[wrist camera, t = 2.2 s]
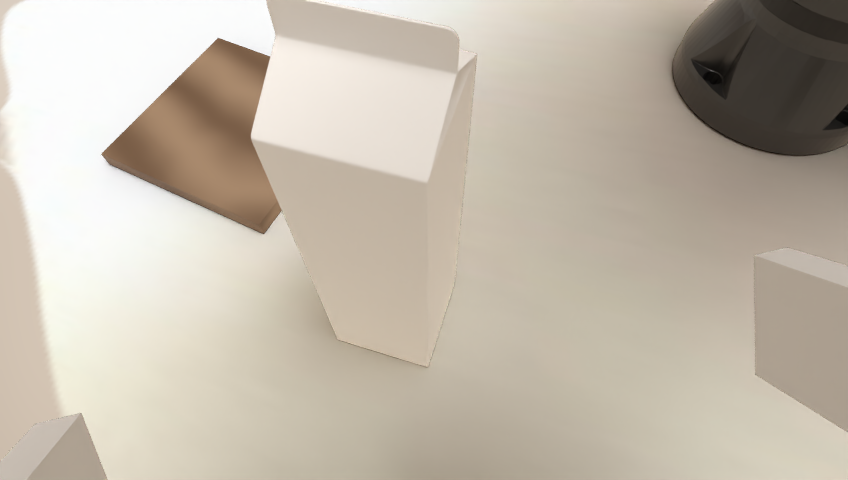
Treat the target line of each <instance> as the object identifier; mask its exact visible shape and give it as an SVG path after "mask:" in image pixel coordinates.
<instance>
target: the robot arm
mask: <svg viewBox="0 0 848 480" xmlns="http://www.w3.org/2000/svg"><path fill="white" fill-rule="evenodd" d="M673 75H674V80H675V83H676V86H677V89H678V91H679V93H680V94H681V96H682V98H683V99H684V101H685V102H686V103H687V105H688V106H689V107H690V108H691V109H692V111H693V112H694V113H695V114H696V115H697V116H699V117H700V118H701V119H702V120H703V121H704V122H706V123H707V124H708V125H710V126H711V127H712V128H714V129H715V130H717V131H719V132H720V133H722V134H724V135H726V136H727V137H729V138H731V139H734V140H736V141H738V142H740V143H743V144H745V145H748V146H751V147H754V148H757V149H761V150H765V151H769V152H774V153H780V154H790V155H810V154H818V153H823V152H828V151H831V150H834V149H837V148H839V147H841V146H843V145H845V144H847V143H848V0H715V1H714V2H713V3H712V4H711V5H710V6H709V7H708V8H707V9H706V10H705V11H704V12H703V13H702V14H701V15H700V16H699V17H698V18H697V19H696V20H695V21H694V22H693V23H692V25H691V26H690V27H689V29H688V30H687V32H686V34H685V36H684V38H683V40H682V42H681V44H680V46H679V48H678V50H677V52H676V54H675V57H674V61H673ZM754 306H755V375H757V376H758V377H760V378H762V379H763V380H765V381H766V382H768V383H770V384H771V385H773V386H774V387H776V388H778V389H779V390H781V391H782V392H784V393H786V394H787V395H789V396H790V397H792V398H794V399H795V400H797V401H798V402H800V403H802V404H803V405H805V406H806V407H808V408H810V409H811V410H813V411H814V412H816V413H818V414H819V415H821V416H822V417H824V418H826V419H827V420H829V421H830V422H832V423H834V424H835V425H837V426H838V427H840V428H842V429H843V430H845V431H846V432H848V265H844V264H841V263H838V262H834V261H831V260H828V259H824V258H821V257H818V256H815V255H811V254H808V253H805V252H801V251H798V250H795V249H791V248H788V247H787V248H782V249H778V250H774V251H769V252H765V253H761V254H757V255H754ZM0 480H107V477H106V475H105V472H104V470H103V467H102V464H101V462H100V459H99V457H98V454H97V452H96V449H95V447H94V444H93V441H92V439H91V436H90V434H89V431H88V429H87V426H86V424H85V421H84V418H83V416H82V413H79V414H75V415H71V416H66V417H62V418H58V419H54V420H50V421H45V422H41V423H37V424H35V425H34V426H33V427H32V428H31V429H30V430H29V431H28V432H27V433H26V434H25V435H24V436H23V437H22V439H21V440H20V441H19V442H18V443H17V444H16V445H15V446H14V447H13V448H12V449H11V450H10V451H9V452H8V453H7V454H6V455H5V456H4V457H3V458H2V460H1V461H0Z"/></svg>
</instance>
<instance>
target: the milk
mask: <svg viewBox="0 0 848 480" xmlns="http://www.w3.org/2000/svg"><path fill="white" fill-rule="evenodd" d="M267 6H268V9H269V13H270V16H271V20H272V23H273V27H274V30H275V40H274V44H273V48H272V52H271V56H270V60H269V64H268V68H267V72H266V76H265V80H264V84H263V88H262V92H261V96H260V100H259V103H258V107H257V111H256V115H255V119H254V123H253V127H252V132H251V140H252V143H253V145H254V147H255V150H256V152H257V154H258V157H259V159H260V161H261V164H262V166H263V168H264V170H265V173H266V175H267V177H268V180H269V182H270V184H271V187H272V189H273V191H274V194H275V196H276V198H277V201H278V203H279V205H280V207H281V210H282V212H283V214H284V217H285V219H286V221H287V224H288V226H289V228H290V231H291V233H292V235H293V238H294V240H295V242H296V245H297V247H298V249H299V251H300V254H301V256H302V258H303V261H304V263H305V265H306V268H307V270H308V272H309V275H310V277H311V279H312V282H313V284H314V286H315V288H316V291H317V293H318V295H319V298H320V300H321V302H322V305H323V307H324V309H325V312H326V314H327V316H328V319H329V321H330V323H331V326H332V328H333V330H334V332H335V335H336V337H337V339H338V340H340V341H344V342H347V343H350V344H353V345H357V346H360V347H363V348H366V349H370V350H373V351H376V352H379V353H383V354H386V355H389V356H392V357H396V358H399V359H402V360H405V361H409V362H412V363H415V364H418V365H422V366H425V367H428V366H429V364H430V360H431V357H432V354H433V351H434V348H435V345H436V341H437V338H438V335H439V332H440V329H441V326H442V322H443V319H444V316H445V313H446V310H447V307H448V303H449V300H450V297H451V294H452V291H453V288H454V284H455V276H456V266H457V256H458V245H459V235H460V225H461V215H462V205H463V194H464V184H465V174H466V164H467V153H468V143H469V133H470V123H471V112H472V102H473V92H474V82H475V71H476V61H477V54H476V53H474V52H469V51H464V50H460V49H459V37H458V35H457V33H456V32H455V31H454V30H453V29H452V28H450V27H448V26H443V25H438V24H433V23H428V22H423V21H418V20H413V19H408V18H404V17H399V16H394V15H389V14H384V13H379V12H374V11H369V10H364V9H359V8H354V7H349V6H344V5H339V4H334V3H329V2H324V1H319V0H267Z"/></svg>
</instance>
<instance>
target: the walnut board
mask: <svg viewBox="0 0 848 480" xmlns="http://www.w3.org/2000/svg"><path fill="white" fill-rule="evenodd" d="M269 60H270V56H267V55H264V54H261V53H259V52H256V51H253V50H250V49H247V48H245V47H242V46H239V45H236V44H234V43H231V42H228V41H225V40H222V39H220V38H218V39H217V40H216V41H215V42H214V43H213V44H212V45H211V46H210V47H209V48H208V49H207V50H206V51H205V52H204V53H203V54H202V55H201V56H200V57H199V58H198V59H197V60H196V61H195V62H193V63H192V64H191V65H190V66H189V67H188V68H187V69H186V70H185V71H184V72H183V73H182V74H181V75H180V76H179V77H178V78H177V79H176V80H175V81H174V82H173V83H172V84H171V85H170V86H169V87H168V88H167V89H166V90H165V91H164V92H163V93H162V94H161V95H160V96H159V97H158V98H157V99H156V100H155V101H154V102H153V103H152V104H151V105H150V106H149V107H148V108H147V109H146V110H145V111H144V112H143V113H142V114H141V115H140V116H139V117H138V118H137V119H136V120H135V121H134V122H133V123H132V124H131V125H130V126H129V127H128V128H127V129H126V130H125V131H124V132H123V133H122V134H121V135H120V136H119V137H118V138H117V139H116V140H115V141H114V142H113V143H112V144H111V145H110V146H109V147H108V148H107V149H106V150H105V151H104V152H103V153H102V156H103V157H104V158H105V159H106V160H107V162H108V163H109V164H110V165H112V166H115V167H117V168H119V169H121V170H123V171H126V172H128V173H130V174H132V175H134V176H137V177H139V178H141V179H143V180H145V181H148V182H150V183H152V184H154V185H157V186H159V187H161V188H163V189H165V190H168V191H170V192H172V193H174V194H176V195H179V196H181V197H183V198H185V199H187V200H190V201H192V202H194V203H196V204H199V205H201V206H203V207H205V208H207V209H210V210H212V211H214V212H216V213H218V214H221V215H223V216H225V217H227V218H229V219H232V220H234V221H236V222H238V223H240V224H243V225H245V226H247V227H249V228H252V229H254V230H256V231H258V232H260V233H263V234H264V233H265V232H266V230H267V229H268V228H269V226H270V225H271V224H272V222H273V221H274V220H275V218H276V217H277V216H278V214H279V213H280V212H281V207H280V205H279V203H278V201H277V198H276V196H275V194H274V191H273V189H272V187H271V184H270V182H269V180H268V177H267V175H266V173H265V170H264V168H263V166H262V164H261V161H260V159H259V157H258V154H257V152H256V150H255V147H254V145H253V143H252V140H251V132H252V127H253V123H254V119H255V115H256V111H257V107H258V103H259V100H260V96H261V92H262V88H263V84H264V80H265V76H266V72H267V68H268V64H269Z"/></svg>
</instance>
